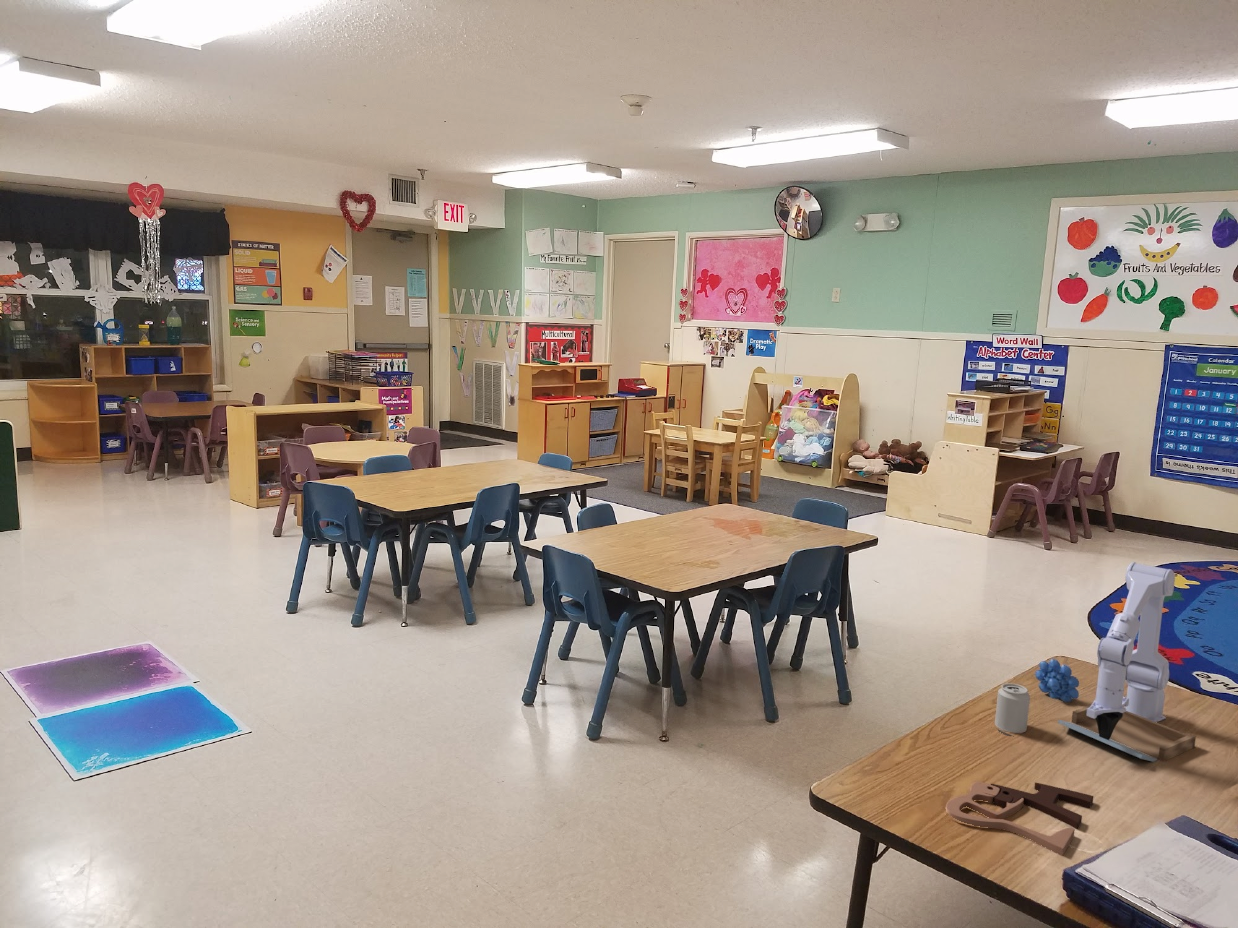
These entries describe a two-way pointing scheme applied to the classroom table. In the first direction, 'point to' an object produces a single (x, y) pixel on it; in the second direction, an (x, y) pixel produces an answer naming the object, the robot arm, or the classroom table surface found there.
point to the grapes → (1057, 680)
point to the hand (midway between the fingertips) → (1104, 738)
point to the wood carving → (1014, 802)
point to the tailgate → (1107, 741)
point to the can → (1012, 708)
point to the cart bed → (1141, 734)
